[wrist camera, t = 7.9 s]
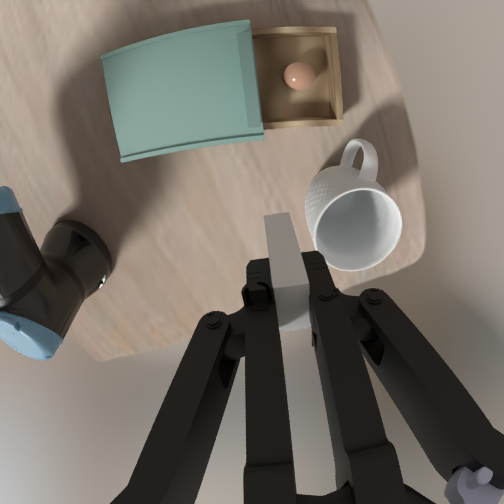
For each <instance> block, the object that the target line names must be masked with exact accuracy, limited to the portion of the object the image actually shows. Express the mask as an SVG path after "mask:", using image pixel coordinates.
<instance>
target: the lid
mask: <svg viewBox="0 0 504 504" xmlns="http://www.w3.org/2000/svg"><path fill="white" fill-rule="evenodd" d="M100 60H102V64H103V71H104V77H105V83H106V89H107V94H108V100H109V105H110V110H111V115H112V120H113V124H114V129H115V133H116V138H117V142H118V146H119V151H120V155H121V158H120V160H121V163H123V162H128V161H132V160H137V159H141V158H146V157H151V156H156V155H161V154H166V153H172V152H177V151H183V150H189V149H195V148H202V147H209V146H216V145H223V144H231V143H239V142H248V141H258V140H264V131H263V122H262V113H261V104H260V95H259V87H258V78H257V70H256V62H255V54H254V46H253V38H252V31H251V23H250V19H248V20H239V21H231V22H224V23H217V24H211V25H205V26H200V27H195V28H190V29H185V30H181V31H176V32H172V33H168V34H164V35H161V36H157V37H153V38H150V39H146V40H143V41H140V42H137V43H133V44H130V45H127V46H124V47H122V48H119V49H116V50H113V51H110V52H108V53H105V54H103V55H100Z"/></svg>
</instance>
